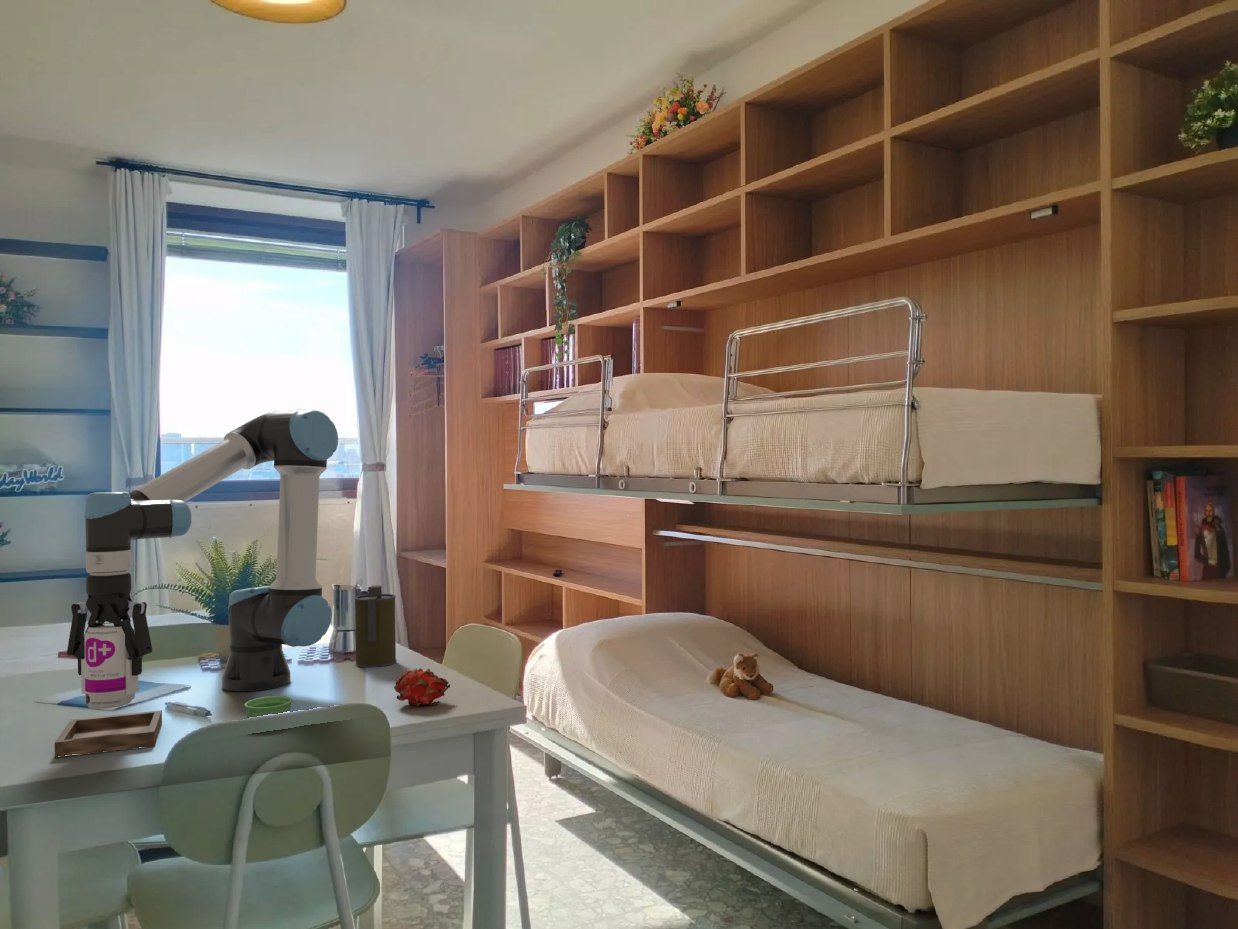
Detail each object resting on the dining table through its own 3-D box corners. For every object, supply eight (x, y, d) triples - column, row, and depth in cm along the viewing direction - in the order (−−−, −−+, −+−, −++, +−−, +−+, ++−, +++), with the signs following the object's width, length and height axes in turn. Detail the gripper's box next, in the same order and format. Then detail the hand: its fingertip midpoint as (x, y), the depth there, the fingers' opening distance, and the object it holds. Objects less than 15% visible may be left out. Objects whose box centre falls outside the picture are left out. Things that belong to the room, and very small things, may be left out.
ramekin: (256, 717, 190) (255, 696, 190) (299, 716, 190) (298, 695, 190) (236, 729, 181) (236, 707, 181) (282, 729, 181) (281, 707, 181)
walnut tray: (162, 724, 186) (161, 710, 186) (154, 746, 171) (154, 731, 171) (70, 734, 180) (70, 719, 180) (54, 758, 165) (54, 742, 165)
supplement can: (113, 710, 170) (112, 629, 170) (75, 708, 172) (74, 628, 172) (144, 699, 178) (143, 622, 178) (107, 697, 180) (106, 621, 180)
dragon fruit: (389, 713, 197) (445, 716, 200) (393, 698, 190) (452, 701, 194) (393, 676, 202) (448, 680, 205) (397, 659, 196) (454, 664, 199)
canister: (359, 659, 244) (357, 584, 244) (399, 658, 245) (398, 583, 245) (351, 668, 233) (350, 590, 233) (393, 667, 234) (392, 588, 234)
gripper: (43, 575, 172) (44, 696, 172) (149, 575, 170) (150, 697, 170) (70, 570, 180) (71, 686, 180) (172, 570, 178) (174, 688, 178)
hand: (110, 692), depth 175 cm, fingers closed on supplement can, 8 cm apart
